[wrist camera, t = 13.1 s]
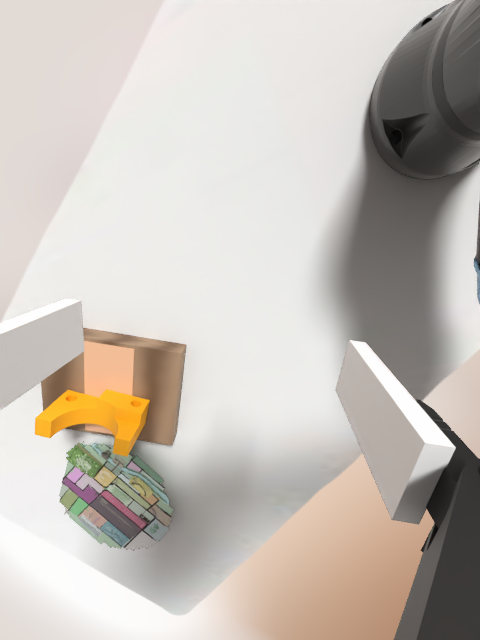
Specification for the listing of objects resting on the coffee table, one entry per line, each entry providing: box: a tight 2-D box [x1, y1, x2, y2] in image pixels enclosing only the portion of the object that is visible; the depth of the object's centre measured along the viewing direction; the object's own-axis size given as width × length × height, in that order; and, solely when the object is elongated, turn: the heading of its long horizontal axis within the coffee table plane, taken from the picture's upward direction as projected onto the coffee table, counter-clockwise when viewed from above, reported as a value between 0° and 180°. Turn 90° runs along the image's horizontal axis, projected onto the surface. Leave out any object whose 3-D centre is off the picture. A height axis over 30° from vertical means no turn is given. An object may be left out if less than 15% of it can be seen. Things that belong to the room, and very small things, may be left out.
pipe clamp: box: [35, 389, 150, 457], centre depth 39 cm, size 12×4×6 cm, turn 75°
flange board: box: [41, 328, 186, 445], centre depth 43 cm, size 20×16×3 cm
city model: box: [59, 441, 174, 551], centre depth 50 cm, size 25×23×6 cm
